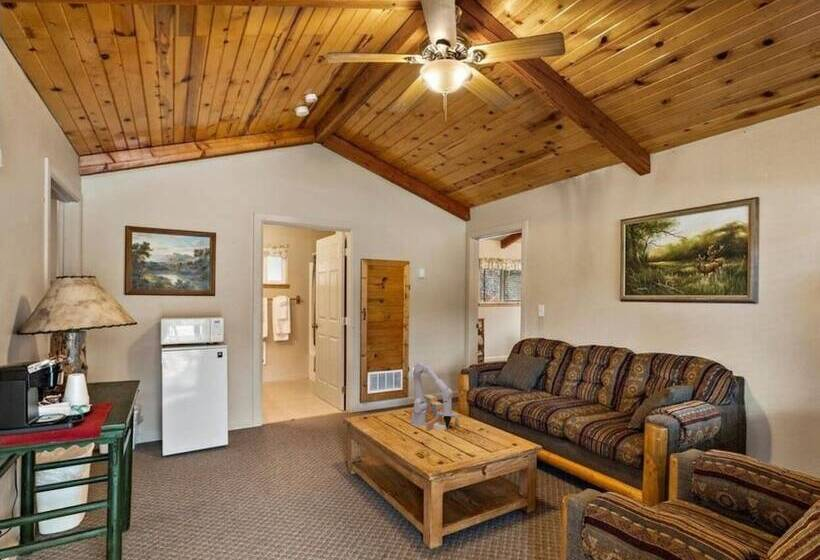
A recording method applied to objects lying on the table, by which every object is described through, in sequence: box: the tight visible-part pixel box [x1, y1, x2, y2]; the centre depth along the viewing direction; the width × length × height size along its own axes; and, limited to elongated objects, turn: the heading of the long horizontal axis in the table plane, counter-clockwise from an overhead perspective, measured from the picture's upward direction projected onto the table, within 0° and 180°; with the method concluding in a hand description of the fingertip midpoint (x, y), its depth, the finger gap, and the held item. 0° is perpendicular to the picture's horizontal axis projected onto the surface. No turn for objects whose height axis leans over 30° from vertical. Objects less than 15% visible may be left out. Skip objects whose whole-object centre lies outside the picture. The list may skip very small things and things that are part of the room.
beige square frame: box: [433, 421, 448, 431], centre depth 291 cm, size 8×8×2 cm
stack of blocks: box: [423, 393, 443, 418], centre depth 328 cm, size 21×6×12 cm, turn 26°
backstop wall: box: [426, 415, 443, 432], centre depth 294 cm, size 2×20×5 cm, turn 150°
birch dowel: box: [454, 415, 460, 428], centre depth 294 cm, size 2×2×7 cm
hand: (447, 427), depth 289 cm, fingers closed
